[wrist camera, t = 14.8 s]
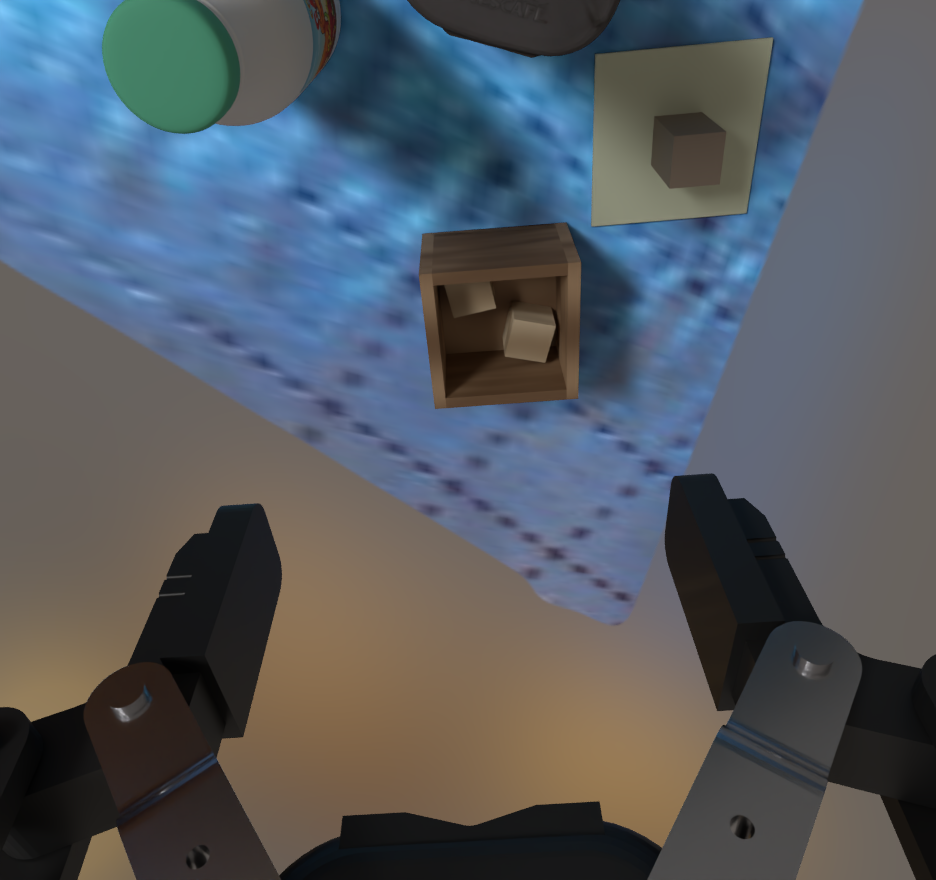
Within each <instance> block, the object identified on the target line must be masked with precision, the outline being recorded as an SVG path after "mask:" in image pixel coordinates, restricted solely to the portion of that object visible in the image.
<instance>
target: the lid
mask: <svg viewBox="0 0 936 880" xmlns="http://www.w3.org/2000/svg"><path fill="white" fill-rule="evenodd" d="M772 43H773V38H772V37H770V38H759V39H749V40H738V41H727V42H717V43H706V44H696V45H685V46H674V47H664V48H653V49H642V50H632V51H621V52H610V53H600V54H595V74H594V119H593V164H592V210H591V226H604V225H615V224H627V223H639V222H650V221H662V220H674V219H685V218H697V217H709V216H720V215H732V214H744V213H747V206H748V200H749V193H750V187H751V180H752V174H753V167H754V161H755V154H756V147H757V141H758V134H759V128H760V121H761V115H762V108H763V102H764V95H765V89H766V82H767V76H768V69H769V63H770V56H771V50H772Z"/></svg>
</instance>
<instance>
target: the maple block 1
mask: <svg viewBox="0 0 936 880" xmlns="http://www.w3.org/2000/svg"><path fill="white" fill-rule="evenodd" d="M444 286H445V289H446V293H447V296H448V299H449V303H450V306H451V310H452V313H453V317H454V318H457V317H461V316H465V315H470V314H474V313H478V312H482V311H486V310H490V309H495V308H496V302H495V293H494V287H493V283H492V281H488V282H475V283H462V284H449V285H444Z"/></svg>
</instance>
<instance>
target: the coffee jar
mask: <svg viewBox="0 0 936 880" xmlns="http://www.w3.org/2000/svg"><path fill="white" fill-rule="evenodd" d="M407 1H408V2H409V3H410V4H411V6H412V7H413V8H414V9H415V10H416V11H417V12H418V13H420V14H421V15H422V16H423V17H424V18H425V19H427V20H429V21H430V22H432V23H433V24H435V25H437V26H439V27H441V28H443V30H444V31H445V32H446V33H448V34H449V35H451V36H455V37H459V38H463V39H467V40H471V41H474V42H478V43H481V44H485V45H488V46H493V47H497V48H500V49H504V50H507V51H510V52H514V53H517V54H521V55H524V56H528V57H531V58H532V57H536V56H540V55H544V56H560V55H565V54H570V53H573V52H575V51H578V50H580V49H582V48H584V47H585V46H587V45H588V44H590V43H591V42H593V41H594V40H595V39H596V38H597V37H598V36H599V35H600V34H601V33H602V32H603V31H604V29H605V28H606V27H607V25H608V24H609V22H610V21H611V19H612V17H613V15H614V13H615V11H616V9H617V7H618V4H619V2H620V0H407Z"/></svg>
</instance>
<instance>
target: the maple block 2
mask: <svg viewBox="0 0 936 880" xmlns="http://www.w3.org/2000/svg"><path fill="white" fill-rule="evenodd" d="M555 328H556V324H555V320H554V316H553V313H552V309H551V307H547V306H541V305H535V304H529V303H524V302H518V301H512V300H511V303H510V308H509V312H508V316H507V320H506V324H505V328H504V332H503V336H502V338H503V346H504V354H505V357H511V358H518V359H524V360H530V361H537V362H543V363H545V362H546V359H547V355H548V352H549V348H550V345H551V341H552V338H553V335H554V331H555Z"/></svg>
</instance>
